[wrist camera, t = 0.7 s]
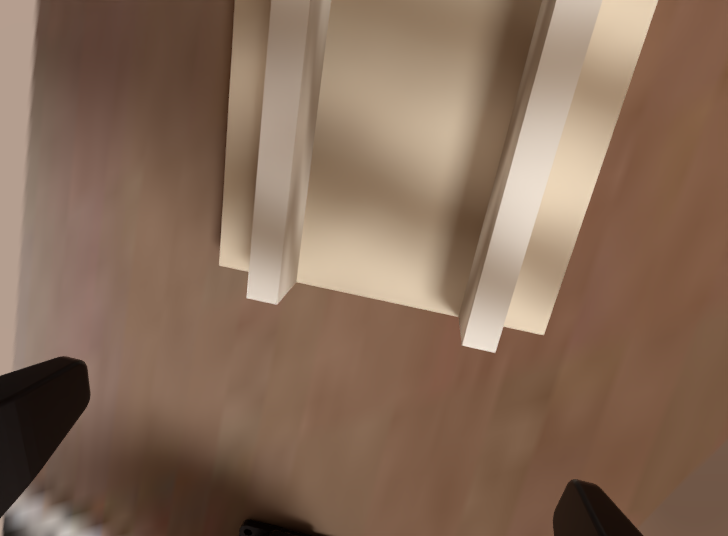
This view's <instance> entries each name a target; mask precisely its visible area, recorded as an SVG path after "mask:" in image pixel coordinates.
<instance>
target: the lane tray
mask: <svg viewBox="0 0 728 536" xmlns="http://www.w3.org/2000/svg"><path fill="white" fill-rule="evenodd" d="M657 2H658V0H235V6H234V23H233V40H232V57H231V74H230V91H229V108H228V125H227V142H226V159H225V176H224V193H223V210H222V227H221V244H220V261H219V265H220V266H224V267H229V268H234V269H238V270H243V271H248V272H249V275H248V287H247V298H249V299H254V300H258V301H263V302H267V303H272V304H276V305H277V304H278V303H279V302H280V301H281V299H282V298H283V297H284V296H285V295H286V294H287V292H288V291H289V290H290V289H291V288H292V287H293V285H294V284H295V283H296V282H299V283H303V284H308V285H313V286H317V287H322V288H327V289H331V290H336V291H341V292H345V293H350V294H355V295H359V296H364V297H369V298H373V299H378V300H383V301H387V302H392V303H396V304H401V305H406V306H410V307H415V308H420V309H424V310H429V311H434V312H438V313H443V314H448V315H452V316H457V317H459V325H460V333H461V341H462V346H467V347H471V348H476V349H480V350H485V351H490V352H494V353H495V352H496V349H497V345H498V342H499V339H500V335H501V332H502V329H503V326H504V327H508V328H513V329H518V330H522V331H527V332H531V333H536V334H541V335H544V333H545V330H546V327H547V324H548V321H549V318H550V315H551V312H552V309H553V306H554V304H555V301H556V298H557V295H558V292H559V289H560V286H561V283H562V280H563V277H564V274H565V271H566V268H567V265H568V263H569V260H570V257H571V254H572V251H573V248H574V245H575V242H576V239H577V236H578V233H579V230H580V227H581V224H582V221H583V219H584V216H585V213H586V210H587V207H588V204H589V201H590V198H591V195H592V192H593V189H594V186H595V183H596V180H597V178H598V175H599V172H600V169H601V166H602V163H603V160H604V157H605V154H606V151H607V148H608V145H609V142H610V139H611V137H612V134H613V131H614V128H615V125H616V122H617V119H618V116H619V113H620V110H621V107H622V104H623V101H624V98H625V96H626V93H627V90H628V87H629V84H630V81H631V78H632V75H633V72H634V69H635V66H636V63H637V60H638V57H639V55H640V52H641V49H642V46H643V43H644V40H645V37H646V34H647V31H648V28H649V25H650V22H651V19H652V16H653V13H654V11H655V8H656V5H657Z"/></svg>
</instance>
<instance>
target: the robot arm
mask: <svg viewBox="0 0 728 536" xmlns="http://www.w3.org/2000/svg"><path fill="white" fill-rule="evenodd" d="M89 400H90V386H89V378H88V370H87V365H86V364H85V362H84V361H82V360H79V359H75V358H70V357H65V356H62V357H57V358H54V359H51V360H48V361H45V362H42V363H39V364H35V365H32V366H29V367H26V368H23V369H20V370H17V371H14V372H11V373H8V374H4V375H1V376H0V518H1V517H2V516H3V515H4V513H5V512H6V511H7V510H8V509H9V508H10V507H11V505H12V504H13V503H14V502H15V501H16V500H17V499H18V497H19V496H20V495H21V494H22V493H23V492H24V490H25V489H26V488H27V487H28V486H29V484H30V483H31V482H32V481H33V479H34V478H35V477H36V476H37V474H38V473H39V472H40V470H41V469H42V468H43V466H44V465H45V464H46V462H47V461H48V460H49V458H50V457H51V455H52V454H53V453H54V451H55V450H56V449H57V447H58V446H59V444H60V443H61V442H62V440H63V439H64V438H65V436H66V435H67V433H68V432H69V431H70V429H71V428H72V427H73V425H74V424H75V422H76V421H77V420H78V418H79V417H80V416H81V414H82V413H83V411H84V410H85V409H86V407H87V405H88V403H89ZM553 529H554V536H643V535H642V534H641V532H640V531H639V530H638V529H637V528H636V527H635V526H634V525H633V524H632V522H631V521H630V520H629V519H628V518H627V517H626V516H625V515H624V514H623V512H622V511H621V510H620V509H619V508H618V507H617V506H616V505H615V504H614V502H613V501H612V500H611V499H610V498H609V497H608V496H607V495H606V494H605V492H604V491H603V490H602V489H601V488H600V487H599V486H597V485H596V484H593V483H589V482H585V481H581V480H577V479H573V480H571V481H569V483H568V484H567V486H566V488H565V490H564V492H563V494H562V496H561V498H560V500H559V502H558V505H557V507H556V509H555V511H554V516H553ZM239 536H310V535H306V534H302V533H298V532H295V531H291V530H287V529H283V528H280V527H276V526H272V525H268V524H265V523H261V522H257V521H253V520H245V521H244V522H243V524H242V526H241V528H240V532H239Z"/></svg>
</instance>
